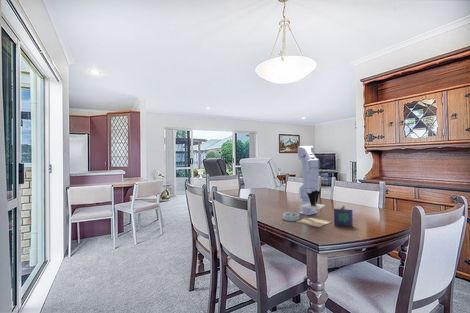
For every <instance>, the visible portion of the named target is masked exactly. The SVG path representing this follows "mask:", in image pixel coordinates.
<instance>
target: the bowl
mask: <svg viewBox="0 0 470 313" xmlns="http://www.w3.org/2000/svg"><path fill="white" fill-rule="evenodd" d="M282 214H283V215H282V218H283V220H284V221H285V222H286V221H287V222H296V221H299V220H300V213H296V212H284V213H282Z"/></svg>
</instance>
